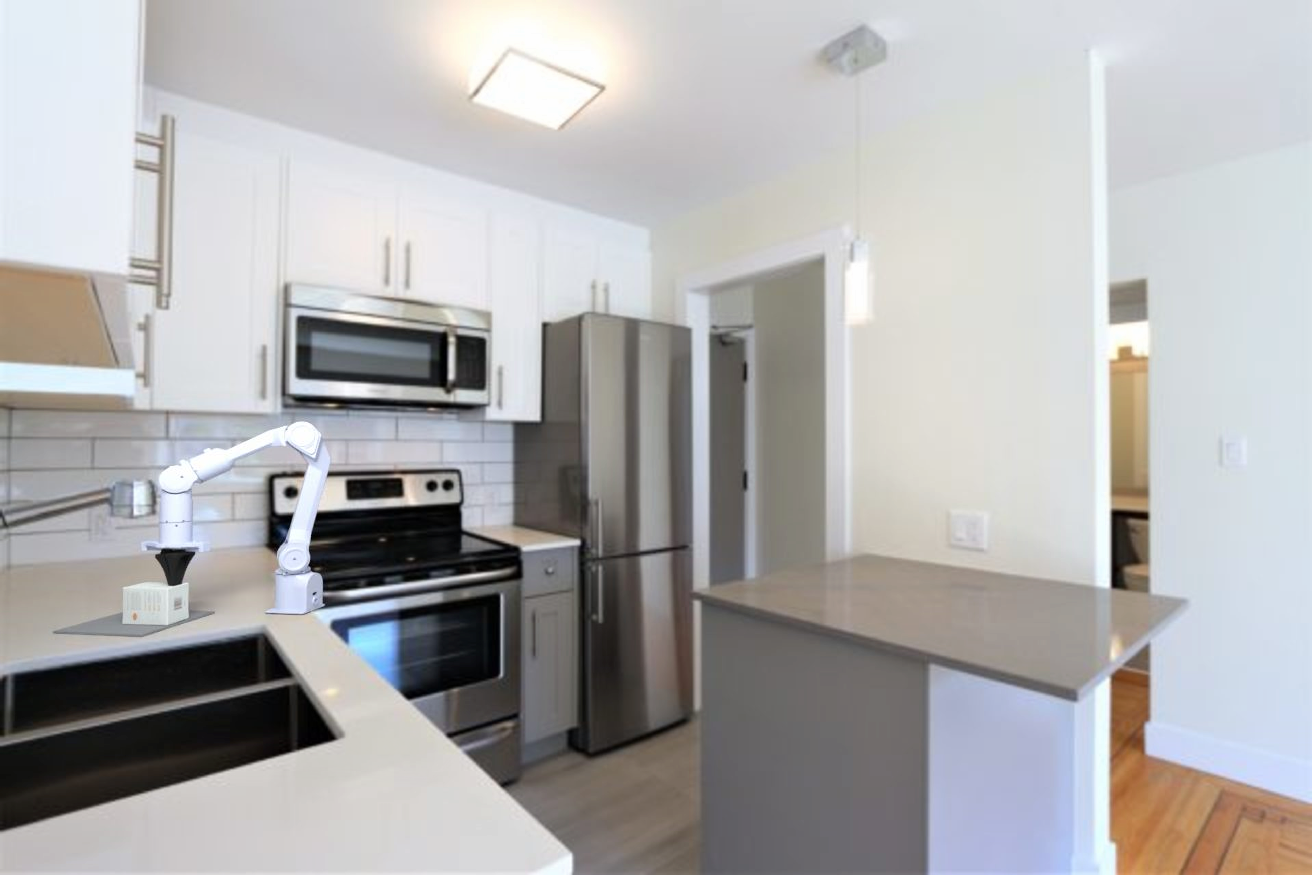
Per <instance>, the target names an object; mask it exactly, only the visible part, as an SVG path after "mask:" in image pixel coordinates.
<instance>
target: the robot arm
mask: <svg viewBox="0 0 1312 875" xmlns="http://www.w3.org/2000/svg"><path fill="white" fill-rule="evenodd" d="M287 445H289V447H291V448H292V449H294V450H295V451H296V452H298V453H299V454H300V456H301V457H302V459H303V460H304V461H305V462H306V464H307V465H306V469H305V473H304V476H303V479H302V483H301V486H300V490H299V494H298V497H297V501H296V504H295V508H294V512H293V515H292V519H291V523H290V527H289V529H288V531H287V534H286V537H285V540H284V541H283V543H282V544H281V545H280V546H279V548H278V550H277V551H276V558H277V561H278V565H279V567H278V568H277V569H275V571H274V572H275V573H274V578H275V580H274V607H273V608H269V609H267V610H265V614H282V615H283V614H285V615H305V614H307V613H310V612H312V611H315V610H317V609H320V608H322V607H325V603H323V598H324V597H323V595H324V594H323V591H324V590H323V588H324V587H323V586H324V584H323V583H324V582H323V576H322V575H321V573H319V572H313V571H312V570H311V567H310V566H309V564H310V560H311V554H310V551H309V550H310V548H309V547H310V544H311V537H312V536H311V535H312V532H313V528H314V524H315V521H316V517H317V514H318V511H319V510H318V509H319V506H320V502H321V498H322V494H323V491H324V488H325V483H326V480H327V476H328V474H329V469H330V465H331V460H332V458H331V456H330V454H329V451H328V448H327V446H326V444H325V441H324V438H323V435H322V434H321V432H320V431H319V430H318V429H317V428H316V427H315V426H314V425H313V424H312V423H309V422H307V421H297V422H294V423H291V424H290V425H284V426H281V427H277V428H273V429H270V430H267V431H265V432H263V433H261V434H258V435H257V436H256V435H255V436H254V437H252V438H249V439H248V440H246V441H244V442H241V443H239V444H236V445H235V446H232V447H230V448H228V449H223V448H220V447H214V448H212V449H211V448H210V447H208V448H206V449H203V453H200V454H199V455H196V456H194V457H192V458H189V459H187V460H186V459H185V458H183V459H181V460H179V462H178V463H179V464H180V465H170V466H168V468H166V469H164V470H163V471H162V472H161V473H160V475H159V477H158V483H159V485H160V487H161V490H160V494H159V496H160V501H159V513H158V514H159V518H158V519H159V521H158V523H159V524H158V525H159V527H158V528H159V529H158V540H146V541H145V540H144V541H141V543H140V545H141V546H140V551H141V552H142V551H143V552H146V551H154V552H155V551H159V553H156V554H155V555H154V557H155V559H156V560H157V562H158V563H159V565H160V567H161V568H162V571H163V573H164V576H165V579H166V582H167V583H168V586H175V585H179V584H182V583H183V580H184V577H185V575H186V571H187V569H188V566H189V565H190V563H191V561H192V559H193V558H194V557H195V556H196V552H198V553H205V552H211V541H203V540H202V541H201V540H193V531H194V530H193V524H194V523H193V522H194V519H193V515H194V499H193V498H192V497H193V496H192V495H193V489H192V487H193V486H194V484H202V483H205V482H207V481H209V480H212V479H214V478H217V477H219V476H221V475H224V474H225V473H227V472H230V471H231V470H232V468H233V465H234V464H235V462H237V461H239V460H241V459H244V458H246V457H248V456H252V455H254V454H257V453H258V452H261V451H264V450H265V449H268V448H271V447H286V446H287Z"/></svg>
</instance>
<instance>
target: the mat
mask: <svg viewBox="0 0 1312 875" xmlns="http://www.w3.org/2000/svg"><path fill="white" fill-rule="evenodd" d="M188 612H189V618H188V619H185V620H182V621H179V622H176V623H173V624H170V625H167V626H165V625H131V624H122V620H123V611H122V612H118V613H115V614H111V615H108V616H103V617H100V618H96V619H93V620H90V621H89V620H88V621H86V622H82V623H77V624H75V625H71V626H67V627H64V628H59V629H56V630H53V631H52V634H65V635H68V634H69V635H90V636H91V635H92V636H109V637H110V636H114V637H115V636H116V637H133V638H134V637H136V638H138V637H139V638H143V637H145V636H148V635H152V634H155V633H158V632H160V631H164V630H168V629H170V627H171V628H173V627H172V626H174V627H176V625H177V626H180V625H182V624H183V625H184V624H185V622H186V623H188V622H193V621H195V620H198V619H201V618H204V617H207V616H210V615H213V614H215V612H216V611H213V610H207V611H206V610H189V609H188ZM179 624H180V625H179ZM167 628H168V629H167Z"/></svg>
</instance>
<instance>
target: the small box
mask: <svg viewBox="0 0 1312 875" xmlns="http://www.w3.org/2000/svg"><path fill="white" fill-rule="evenodd" d="M189 587H190V583H189V582H182V584H179V585H175V586H168V583H167V581H163V582H162V581H161V582H160V581H159V582H158V581H144V582H141V583H136V584H132V585H129V586H124V587H122V612H123V620H122V624H131V625H165V626H167V625H170V624H173V623H176V622H179V621H182V620H185V619H188V618H189V612H188V610H189Z"/></svg>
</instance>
